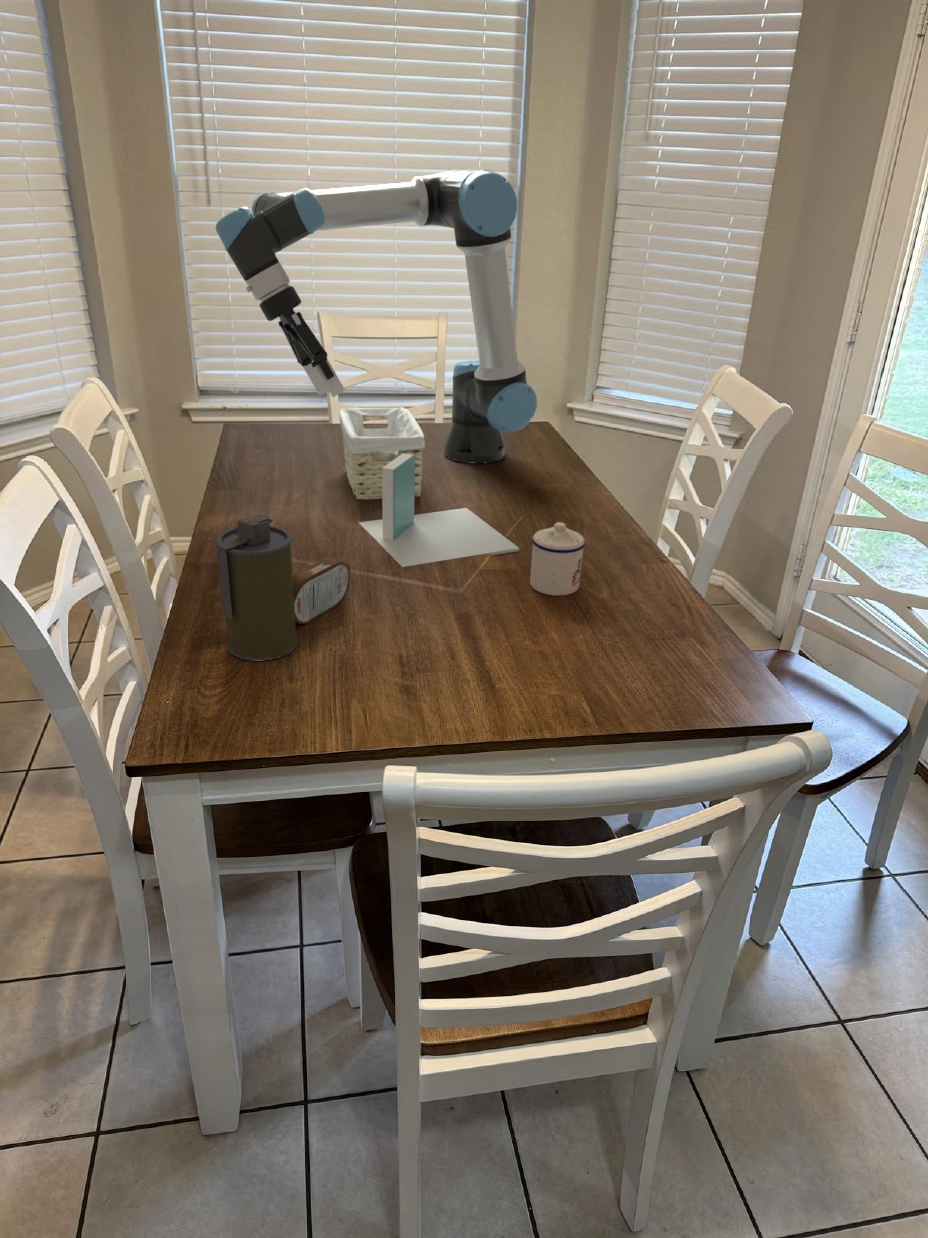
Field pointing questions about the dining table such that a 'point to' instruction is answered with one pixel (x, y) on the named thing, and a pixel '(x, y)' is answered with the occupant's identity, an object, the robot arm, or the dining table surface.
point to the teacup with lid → (556, 560)
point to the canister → (257, 589)
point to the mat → (441, 538)
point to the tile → (398, 495)
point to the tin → (319, 588)
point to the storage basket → (378, 447)
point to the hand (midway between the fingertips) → (332, 393)
